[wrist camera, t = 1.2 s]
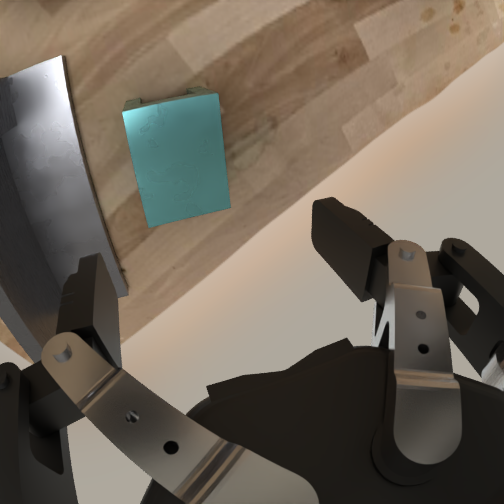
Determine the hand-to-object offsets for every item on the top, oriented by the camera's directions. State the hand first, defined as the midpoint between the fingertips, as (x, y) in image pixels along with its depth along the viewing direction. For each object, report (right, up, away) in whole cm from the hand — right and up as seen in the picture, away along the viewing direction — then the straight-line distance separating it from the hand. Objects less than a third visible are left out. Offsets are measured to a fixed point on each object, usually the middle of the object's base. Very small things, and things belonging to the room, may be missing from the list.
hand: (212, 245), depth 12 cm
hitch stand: (-18, +3, +10) cm, 21 cm away
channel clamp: (-5, +9, +12) cm, 16 cm away
